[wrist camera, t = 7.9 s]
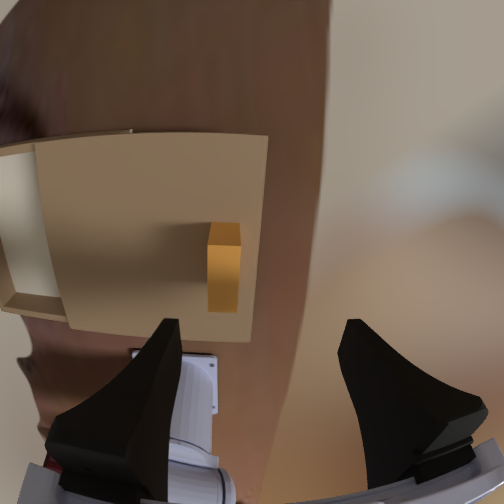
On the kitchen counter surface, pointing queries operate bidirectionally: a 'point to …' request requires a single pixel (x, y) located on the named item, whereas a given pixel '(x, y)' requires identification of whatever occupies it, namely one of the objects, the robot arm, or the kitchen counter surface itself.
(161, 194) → the lid panel
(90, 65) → the kitchen counter surface
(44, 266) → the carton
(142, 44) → the kitchen counter surface
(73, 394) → the kitchen counter surface
